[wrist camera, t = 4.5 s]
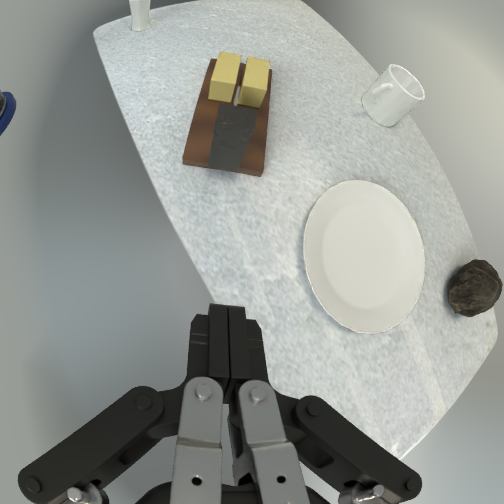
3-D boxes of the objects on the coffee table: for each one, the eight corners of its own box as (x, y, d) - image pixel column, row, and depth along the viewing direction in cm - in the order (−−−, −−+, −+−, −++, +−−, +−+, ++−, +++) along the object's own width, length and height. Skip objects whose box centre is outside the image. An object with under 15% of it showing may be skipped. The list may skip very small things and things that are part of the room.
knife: (237, 172, 32) (254, 128, 23) (207, 167, 31) (215, 121, 22) (246, 109, 34) (262, 62, 25) (220, 104, 33) (230, 56, 24)
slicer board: (260, 176, 34) (263, 171, 33) (182, 164, 32) (182, 158, 31) (269, 75, 38) (272, 69, 37) (210, 64, 36) (211, 58, 35)
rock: (438, 286, 37) (489, 280, 28) (456, 253, 42) (499, 245, 33) (450, 332, 38) (496, 332, 29) (468, 296, 42) (508, 292, 33)
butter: (259, 108, 35) (266, 90, 31) (208, 99, 33) (211, 79, 29) (262, 78, 36) (269, 60, 32) (216, 69, 35) (219, 51, 31)
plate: (353, 364, 33) (362, 367, 30) (263, 232, 33) (268, 228, 31) (431, 273, 38) (441, 271, 36) (365, 164, 39) (373, 158, 37)
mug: (339, 97, 41) (366, 62, 31) (378, 92, 44) (405, 64, 34) (364, 133, 40) (398, 102, 31) (401, 124, 43) (432, 98, 34)
